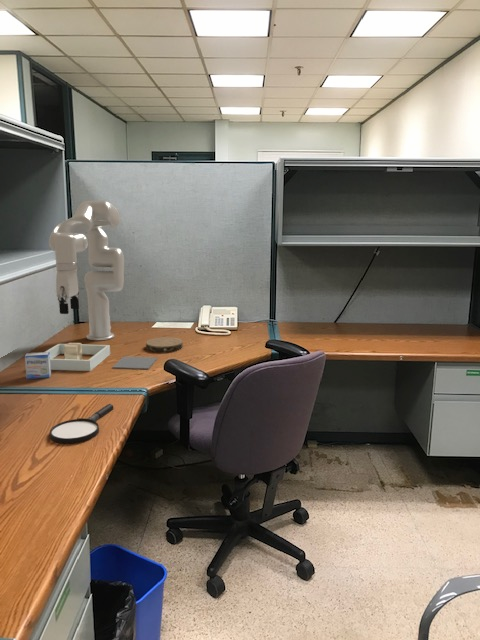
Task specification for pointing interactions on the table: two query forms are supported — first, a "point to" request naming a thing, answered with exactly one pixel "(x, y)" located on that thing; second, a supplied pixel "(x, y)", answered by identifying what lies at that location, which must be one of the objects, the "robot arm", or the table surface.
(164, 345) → the tambourine
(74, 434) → the magnifying glass
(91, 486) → the table surface
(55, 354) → the white shallow tray
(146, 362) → the mat
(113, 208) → the robot arm
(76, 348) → the maple block
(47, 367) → the medicine box
